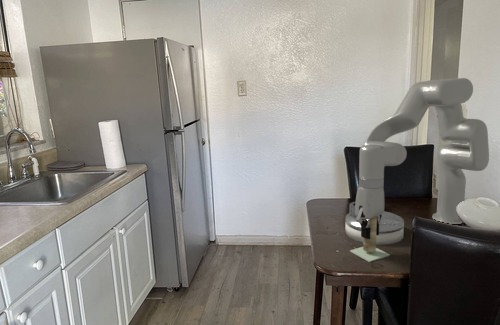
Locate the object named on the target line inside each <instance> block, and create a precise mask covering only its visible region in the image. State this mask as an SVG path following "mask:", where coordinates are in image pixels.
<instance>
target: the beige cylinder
mask: <svg viewBox="0 0 500 325" xmlns="http://www.w3.org/2000/svg"><path fill="white" fill-rule="evenodd" d="M364 217H365V216H364ZM364 221H365V222H366V221H367V220H365V219H364ZM369 227H370V239H366V238H364V239H363V242H362V244H363V246H362V247H363V250H364V251H366V252H375V251H376V248H377V245H376V229H377V216H375V217H373V218H371V219H370V225H369Z"/></svg>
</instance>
